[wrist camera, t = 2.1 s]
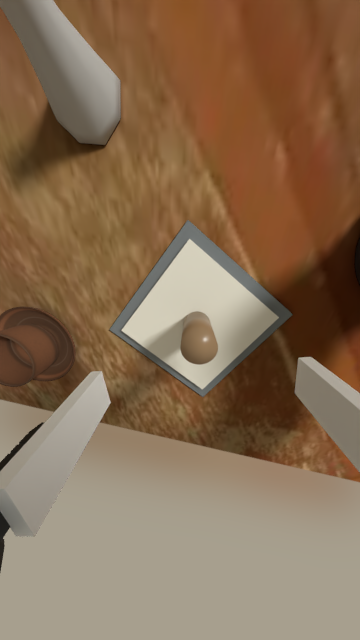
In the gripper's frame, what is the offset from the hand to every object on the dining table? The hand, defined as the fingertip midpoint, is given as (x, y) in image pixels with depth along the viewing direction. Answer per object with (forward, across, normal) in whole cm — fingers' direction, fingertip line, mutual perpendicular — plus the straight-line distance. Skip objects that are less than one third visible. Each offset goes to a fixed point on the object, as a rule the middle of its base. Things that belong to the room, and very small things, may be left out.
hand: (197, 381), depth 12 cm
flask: (+14, +9, -25) cm, 29 cm away
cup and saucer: (+14, +24, +1) cm, 27 cm away
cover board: (+13, 0, 0) cm, 13 cm away
